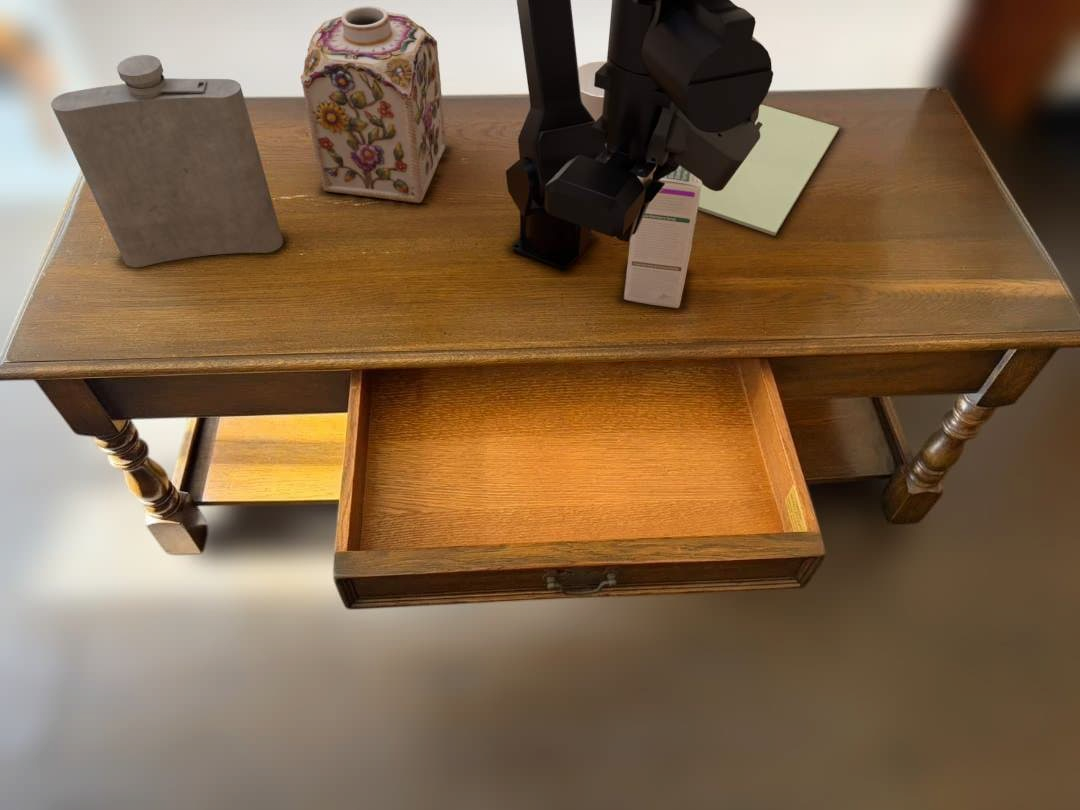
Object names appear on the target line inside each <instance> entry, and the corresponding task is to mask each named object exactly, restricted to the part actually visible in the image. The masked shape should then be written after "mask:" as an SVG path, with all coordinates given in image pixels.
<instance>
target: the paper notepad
mask: <svg viewBox="0 0 1080 810" xmlns="http://www.w3.org/2000/svg"><path fill="white" fill-rule="evenodd" d="M758 121H759V122H760V123H762V124H763V125H762V126H761V128H760V129H759V131H760V139H759V140H758V142H757V143H756V145H755V146H754V147H753V149H752V150H751V152H750V153H749V154H748V156H747V157H746V159H745V160H744V161H743V163H742V164H741V165H740V167H739V168H738V170H737V171H736V172H735V174H734V175H733V176H732V178H731V179H730V181H729V182H728V183H727V185H726V186H725V187H724V189H723V190H721V191H713V190H710V189H708V188H707V187H705V186H704V185H703V184H702V185H701V192H700V199H699V205H698V211H700V212H703V213H707V214H709V215H712V216H715V217H718V218H721V219H724V220H726V221H729V222H732V223H735V224H738V225H741V226H744V227H747V228H750V229H752V230H756V231H759V232H762V233H765V234H766V235H767V234H768V235H770V236H773V237H775V236H776V235H777V234H778V231H779V230H780V228H781V227H782V225H783V224H784V222H785V220H786V218H787V217H788V215H789V213H790V211H791V210H792V209H793V207H794V205H795V203H796V202H797V200H798V199H799V197H800V195H801V193H802V192H803V190H804V189H805V187H806V185H807V183H808V182H809V180H810V178H811V177H812V175H813V174H814V172H815V170H816V168H817V167H818V165H819V164H820V162H821V160H822V158H823V157H824V155H825V154H826V152H827V150H828V149H829V147H830V145H831V143H832V142H833V140H834V138H835V137H836V135H837V134H838V132H839V130H840V127H839V126H836V125H832V124H829V123H826V122H822V121H819V120H815V119H812V118H809V117H806V116H802V115H799V114H795V113H791V112H788V111H785V110H782V109H778V108H775V107H771V106H768V105H764V104H761V105H760V106H759V114H758V119H757V120H756V122H755V125H756V124H757V122H758Z"/></svg>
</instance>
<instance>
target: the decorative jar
mask: <svg viewBox="0 0 1080 810" xmlns="http://www.w3.org/2000/svg"><path fill="white" fill-rule="evenodd" d="M300 79H301V81H300V82H301V84H302V90H303V91H302V92H303V95H304V101H305V102H304V103H305V107H306V113H307V119H308V123H309V129H310V135H311V139H312V144H313V149H314V153H315V158H316V163H317V166H318V171H319V176H320V179H321V185H322V189H323V191H325V192H330V193H337V194H347V195H353V196H359V197H360V196H362V197H370V198H376V199H377V198H378V199H384V200H392V201H400V202H407V203H415V204H420V203H422V202H423V200H424V198H425V196H426V193H427V191H428V189H429V187H430V184H431V182H432V180H433V177H434V175H435V173H436V170H437V168H438V165H439V163H440V160H441V158H442V156H443V153H444V151H445V149H446V129H445V118H444V117H445V116H444V105H443V95H442V82H441V72H440V62H439V50H438V40H436V38H435V37H434V36H433V35H431V34H430V32H428V31H427V30H426V29H425V27H423V26H421V25H419V24H418V23H416V22H415V21H414V20H412V19H411V18H409V17H408V16H407V15H406V14H403V13H398V12H397V13H396V12H395V13H394V12H389V11H387V10H386V9H384V8H382V7H379V6H371V5H362V6H357V7H353V8H350V9H349V10H347V11H345V12H343V13H342V15H340V16H338V17H335V18H331V19H329V20H325V21H324V22H322V24H321V25H320V26H319V27H318V28H317V29H316V30H315V32H314V33H313V34H312V37H311V39H310V41H309V45H308V48H307V55H306V57H305V59H304V65H303V72H302V74H301V75H300Z"/></svg>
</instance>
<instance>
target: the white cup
mask: <svg viewBox="0 0 1080 810" xmlns="http://www.w3.org/2000/svg"><path fill="white" fill-rule="evenodd" d="M606 62H607V59H605V60H603V59H602V60H600V59H599V60H592V61H588V62H584V63H581V64H578V73H579V83H580V92H581V99H582V103H583V105H584V106H585V107H586V109H587V110H588V111H589V113H590V114H591V115H592V117H593V118H594V119H595V121H597V120H598V119H599V118H600V117H601V116H602V112H603V100H604V89H601V88H598V87H594V82H595V73H596V72H597V71H598V70H599V69H600V68H601V67H602V66H603V65H604V64H605V63H606Z"/></svg>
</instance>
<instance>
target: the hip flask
mask: <svg viewBox="0 0 1080 810" xmlns="http://www.w3.org/2000/svg"><path fill="white" fill-rule="evenodd" d="M116 71H117V74H118V76H119V78H120V80H121V81H122V82H124V83H121V84H120V83H119V84H111V85H106V86H98V87H91V88H86V89H85V88H84V89H80V90H74V91H68V92H63V93H62V94H59V95H57V96H55V97H54V98H53V99H52V101H51V102H50V106H51V108H52V110H53V113H54V115H55V118H56V119H57V121H58V123H59V125H60V128H61V130H62V132H63V134H64V136H65V138H66V141H67V142H68V145H69V147H70V149H71V151H72V153H73V156H74V158H75V160H76V162H77V164H78V166H79V168H80V170H81V172H82V174H83V177H84V179H85V181H86V184H87V185H88V187H89V189H90V192H91V194H92V196H93V198H94V200H95V203H96V205H97V207H98V208H99V211H100V213H101V216H102V217H103V219H104V221H105V223H106V225H107V228H108V230H109V232H110V234H111V237H112V238H113V241H114V243H115V245H116V247H117V250H118V251H119V253H120V255H121V258H122V260H123V262H124V264H125V265H126V266H127V267H130V268H143V267H147V266H151V265H156V264H161V263H165V262H170V261H171V262H172V261H177V260H183V259H190V258H197V257H206V256H207V257H208V256H216V255H226V254H227V255H229V254H268V253H269V254H270V253H272V252H273V253H274V252H275V251H277V250H279V249H280V248H281V247H282V246H283V243H284V239H283V236H282V232H281V228H280V225H279V220H278V218H277V214H276V211H275V206H274V203H273V198H272V195H271V192H270V188H269V185H268V181H267V177H266V174H265V170H264V166H263V162H262V159H261V154H260V151H259V148H258V144H257V141H256V136H255V133H254V130H253V126H252V122H251V118H250V115H249V112H248V108H247V103H246V100H245V96H244V93H243V89H242V86H241V84H240V83H239V81H237V80H234V79H229V78H165V76H164V74H163V73H164V68H163V65H162V62H161V60H160V58H158V57H156V56H154V55H149V54H138V55H133V56H130V57H126V58H124V59H123V60H122V61H120V62H119V63H118V64H117V66H116Z"/></svg>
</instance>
